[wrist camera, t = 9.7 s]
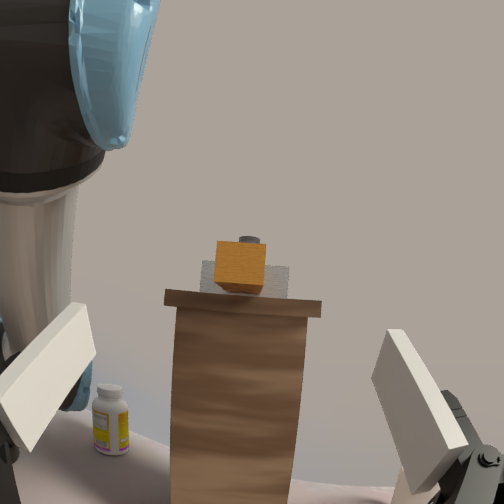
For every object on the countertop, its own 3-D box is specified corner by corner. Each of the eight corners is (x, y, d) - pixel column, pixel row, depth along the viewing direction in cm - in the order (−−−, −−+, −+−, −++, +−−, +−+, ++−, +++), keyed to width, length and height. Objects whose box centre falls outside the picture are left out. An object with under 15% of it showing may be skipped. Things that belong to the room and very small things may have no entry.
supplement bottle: (125, 442, 50) (125, 383, 53) (132, 457, 45) (131, 393, 47) (92, 441, 47) (91, 380, 50) (95, 456, 41) (92, 390, 44)
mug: (372, 503, 33) (385, 447, 35) (421, 497, 32) (436, 441, 34) (391, 548, 21) (413, 485, 23) (450, 535, 20) (475, 472, 22)
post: (287, 557, 22) (321, 300, 28) (162, 545, 22) (165, 288, 28) (279, 500, 36) (299, 305, 42) (184, 492, 36) (193, 297, 42)
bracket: (304, 291, 19) (308, 183, 20) (173, 281, 19) (186, 175, 21) (278, 303, 39) (281, 246, 40) (212, 298, 39) (217, 242, 40)
